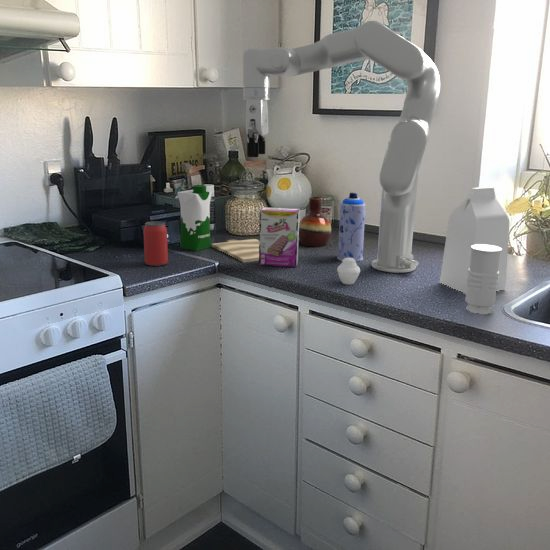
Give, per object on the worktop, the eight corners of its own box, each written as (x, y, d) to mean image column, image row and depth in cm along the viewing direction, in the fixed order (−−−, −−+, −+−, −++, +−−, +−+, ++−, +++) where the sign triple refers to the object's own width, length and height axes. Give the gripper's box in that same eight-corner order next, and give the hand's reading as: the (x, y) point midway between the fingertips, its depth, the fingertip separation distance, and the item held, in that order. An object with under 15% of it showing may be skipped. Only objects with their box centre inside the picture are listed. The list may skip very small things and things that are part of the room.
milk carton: (196, 252, 193) (195, 188, 187) (175, 247, 198) (173, 185, 192) (215, 247, 200) (214, 185, 194) (194, 243, 205) (193, 182, 199)
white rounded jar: (347, 287, 160) (348, 261, 158) (331, 281, 165) (332, 256, 163) (364, 283, 164) (366, 258, 162) (348, 278, 168) (350, 253, 167)
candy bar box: (258, 266, 179) (259, 209, 174) (260, 261, 184) (261, 206, 179) (297, 267, 178) (298, 211, 173) (298, 263, 183) (299, 208, 178)
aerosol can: (335, 255, 192) (337, 191, 187) (359, 255, 193) (363, 191, 187) (339, 262, 185) (343, 195, 179) (365, 261, 185) (369, 195, 180)
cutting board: (290, 256, 190) (290, 253, 190) (243, 262, 182) (243, 259, 182) (251, 240, 210) (251, 237, 210) (208, 245, 202) (208, 242, 202)
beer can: (172, 263, 179) (171, 223, 176) (153, 268, 175) (152, 226, 171) (158, 259, 184) (157, 219, 180) (140, 263, 179) (138, 222, 176)
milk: (468, 295, 156) (479, 192, 148) (439, 282, 166) (448, 185, 158) (505, 290, 160) (518, 190, 153) (475, 278, 170) (485, 183, 163)
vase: (295, 240, 211) (296, 195, 207) (327, 240, 212) (329, 195, 208) (299, 248, 201) (301, 200, 196) (333, 247, 202) (335, 200, 198)
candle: (465, 313, 142) (472, 250, 138) (462, 304, 149) (468, 243, 145) (496, 316, 141) (504, 252, 137) (492, 306, 148) (499, 245, 144)
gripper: (263, 94, 168) (263, 158, 173) (274, 94, 185) (274, 153, 189) (236, 94, 170) (236, 158, 174) (250, 94, 186) (250, 152, 191)
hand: (256, 155), depth 182 cm, fingers open, 9 cm apart
